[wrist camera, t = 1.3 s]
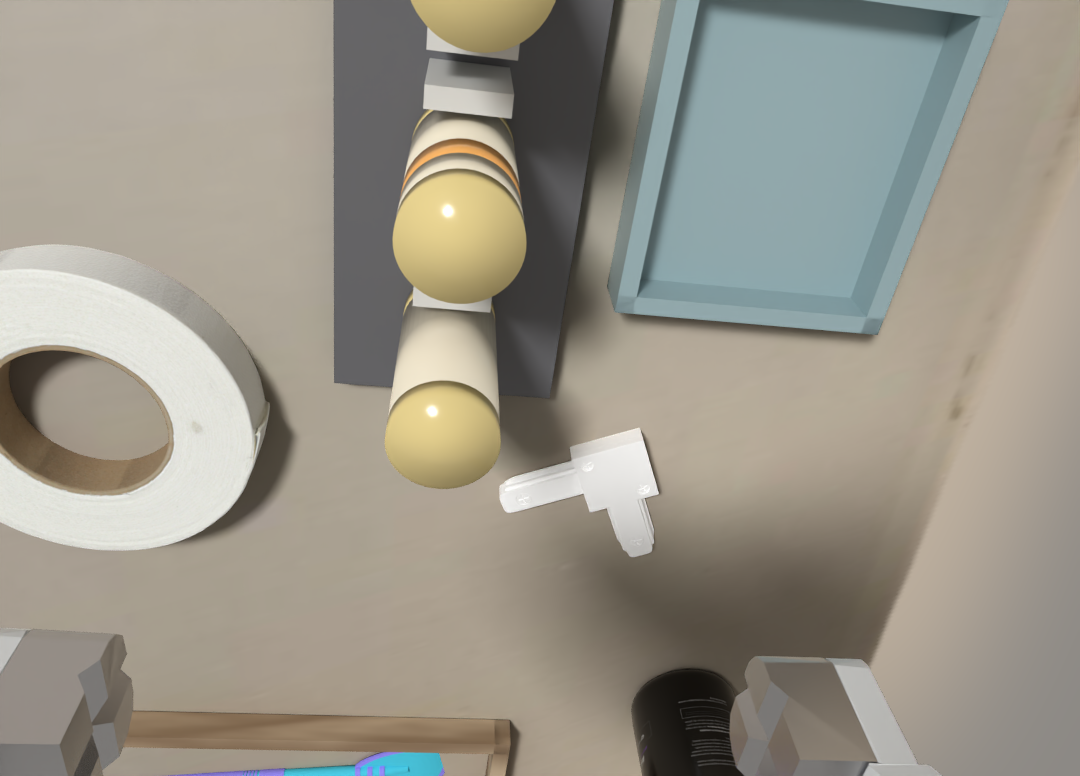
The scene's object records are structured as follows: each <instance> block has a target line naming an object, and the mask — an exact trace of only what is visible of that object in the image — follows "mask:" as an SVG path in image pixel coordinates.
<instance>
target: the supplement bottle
mask: <svg viewBox="0 0 1080 776" xmlns="http://www.w3.org/2000/svg"><path fill="white" fill-rule="evenodd" d="M734 701H735V695H734V693H733V691H732V689H731V687H730V686H729V684H728V683H727V682H726V681H725V680H723V679H722V678H720V677H719V676H717V675H715V674H713V673H710V672H707V671H702V670H693V669H687V670H678V671H673V672H669V673H666V674H663V675H661V676H658V677H656V678H654V679H653V680H651V681H650V682H648V683H647V684H646V685H644V686H643V687H642V688H641V689H640V691H639V692H638V693H637V695H636V696H635V698H634V701H633V703H632V709H631V713H632V721H633V727H634V734H635V739H636V745H637V750H638V756H639V761H640V767H641V772H642V776H744V775H743V774H742V773H741V772H740V771H739V770H738V769H737V767H736V764H735V760H734V757H733V753H732V748H731V741H730V734H729V732H730V713H731V710H732V707H733V704H734Z"/></svg>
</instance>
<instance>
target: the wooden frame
mask: <svg viewBox="0 0 1080 776" xmlns="http://www.w3.org/2000/svg"><path fill="white" fill-rule="evenodd" d="M510 745H511V743H510V720H487V719H445V718H403V717H361V716H319V715H277V714H236V713H194V712H152V711H133V712H132V717H131V721H130V726H129V731H128V735H127V738H126V740H125V743H124V746H123V747H144V748H197V749H250V750H303V751H356V752H410V753H463V754H489V756H488V762H487V769H486V775H485V776H505V773H506V768H507V762H508V756H509V751H510Z"/></svg>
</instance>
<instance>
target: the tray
mask: <svg viewBox="0 0 1080 776" xmlns="http://www.w3.org/2000/svg"><path fill="white" fill-rule="evenodd" d="M1008 2H1009V0H662V1H661V6H660V11H659V16H658V22H657V27H656V32H655V38H654V43H653V48H652V53H651V59H650V64H649V69H648V74H647V80H646V85H645V90H644V95H643V101H642V106H641V111H640V117H639V122H638V127H637V132H636V138H635V143H634V148H633V153H632V159H631V164H630V169H629V174H628V180H627V185H626V190H625V195H624V201H623V206H622V211H621V217H620V222H619V227H618V232H617V238H616V243H615V248H614V253H613V259H612V264H611V269H610V274H609V280H608V285H607V287H608V291H609V294H610V297H611V301H612V304H613V308H614V311H615V312H618V313H629V314H641V315H653V316H664V317H676V318H688V319H699V320H711V321H723V322H735V323H746V324H758V325H770V326H781V327H793V328H805V329H816V330H828V331H840V332H851V333H863V334H875V335H878V332H879V330H880V327H881V325H882V322H883V320H884V317H885V315H886V312H887V309H888V307H889V304H890V302H891V299H892V297H893V294H894V292H895V289H896V287H897V284H898V281H899V279H900V276H901V274H902V271H903V269H904V266H905V264H906V261H907V259H908V256H909V253H910V251H911V248H912V246H913V243H914V241H915V238H916V236H917V233H918V231H919V228H920V225H921V223H922V220H923V218H924V215H925V213H926V210H927V208H928V205H929V203H930V200H931V198H932V195H933V192H934V190H935V187H936V185H937V182H938V180H939V177H940V175H941V172H942V170H943V167H944V164H945V162H946V159H947V157H948V154H949V152H950V149H951V147H952V144H953V142H954V139H955V136H956V134H957V131H958V129H959V126H960V124H961V121H962V119H963V116H964V114H965V111H966V108H967V106H968V103H969V101H970V98H971V96H972V93H973V91H974V88H975V86H976V83H977V80H978V78H979V75H980V73H981V70H982V68H983V65H984V63H985V60H986V58H987V55H988V52H989V50H990V47H991V45H992V42H993V40H994V37H995V35H996V32H997V30H998V27H999V24H1000V22H1001V19H1002V17H1003V14H1004V12H1005V9H1006V7H1007V4H1008Z"/></svg>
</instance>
